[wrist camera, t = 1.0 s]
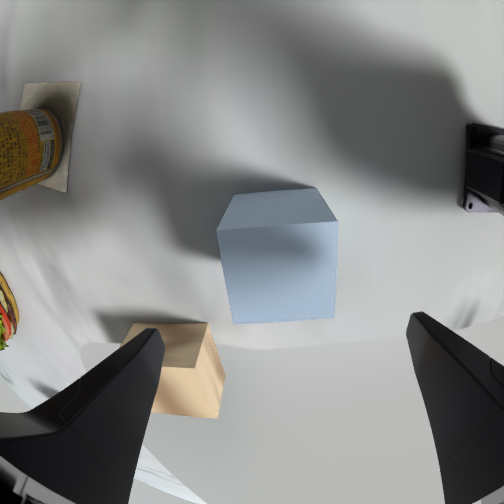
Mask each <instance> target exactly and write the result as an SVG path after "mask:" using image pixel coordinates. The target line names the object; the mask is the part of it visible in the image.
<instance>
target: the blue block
mask: <svg viewBox="0 0 504 504" xmlns="http://www.w3.org/2000/svg"><path fill="white" fill-rule="evenodd" d="M216 234H217V239H218V245H219V251H220V256H221V262H222V267H223V272H224V278H225V283H226V288H227V293H228V298H229V304H230V309H231V314H232V319H233V323H234V324H247V323H269V322H287V321H301V320H314V319H325V318H334V312H335V297H336V278H337V249H338V221H337V219H336V218H335V216H334V214H333V213H332V211H331V210H330V208H329V207H328V205H327V203H326V202H325V200H324V199H323V197H322V196H321V194H320V193H319V191H318V190H317V188H307V189H292V190H278V191H266V192H255V193H244V194H234V196H233V198H232V200H231V202H230V204H229V206H228V208H227V210H226V212H225V214H224V216H223V218H222V220H221V221H220V223H219V225H218V227H217V229H216Z"/></svg>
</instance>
